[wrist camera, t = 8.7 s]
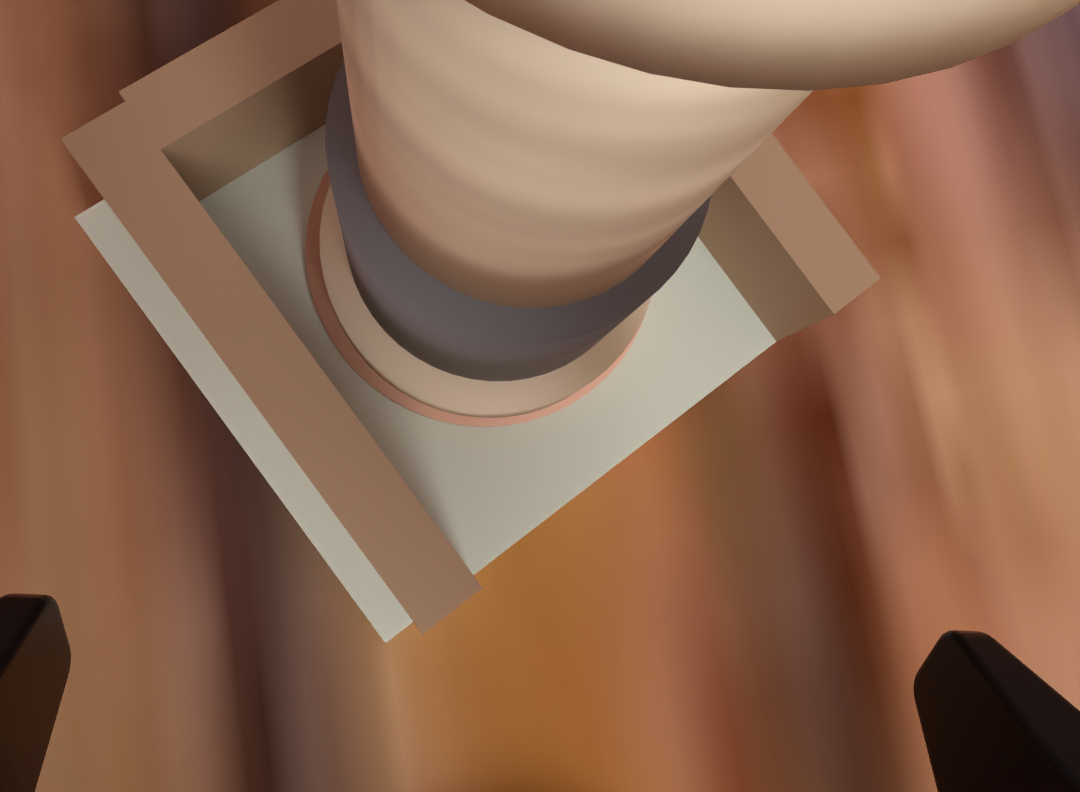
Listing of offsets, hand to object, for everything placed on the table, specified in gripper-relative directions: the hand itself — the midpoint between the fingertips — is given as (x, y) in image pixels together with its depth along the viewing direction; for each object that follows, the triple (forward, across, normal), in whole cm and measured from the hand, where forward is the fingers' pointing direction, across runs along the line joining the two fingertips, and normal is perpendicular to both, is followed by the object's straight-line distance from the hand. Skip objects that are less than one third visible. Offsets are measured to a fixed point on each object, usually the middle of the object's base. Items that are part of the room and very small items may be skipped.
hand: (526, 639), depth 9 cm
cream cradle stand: (+11, 0, +2) cm, 11 cm away
